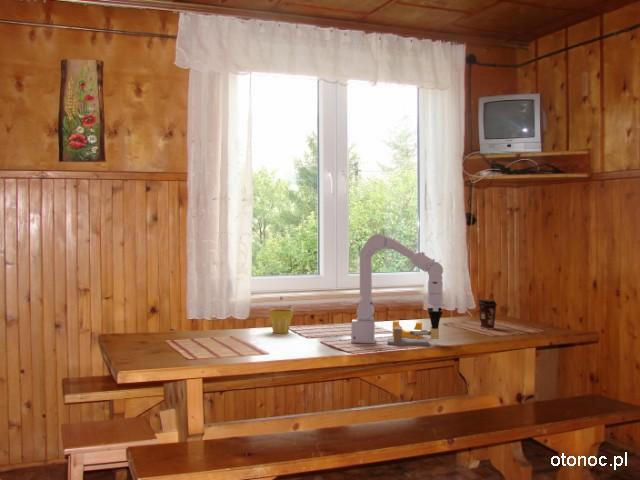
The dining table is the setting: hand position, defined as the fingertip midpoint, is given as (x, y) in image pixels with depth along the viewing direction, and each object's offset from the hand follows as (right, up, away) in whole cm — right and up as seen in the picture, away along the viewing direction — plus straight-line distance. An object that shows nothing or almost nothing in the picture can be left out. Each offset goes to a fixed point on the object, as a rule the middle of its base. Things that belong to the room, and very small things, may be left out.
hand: (434, 327), depth 270 cm
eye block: (-9, -7, +1) cm, 12 cm away
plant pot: (-62, -6, +28) cm, 69 cm away
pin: (-4, -4, +1) cm, 6 cm away
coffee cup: (+31, -6, +43) cm, 53 cm away
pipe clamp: (-8, -7, +19) cm, 21 cm away
